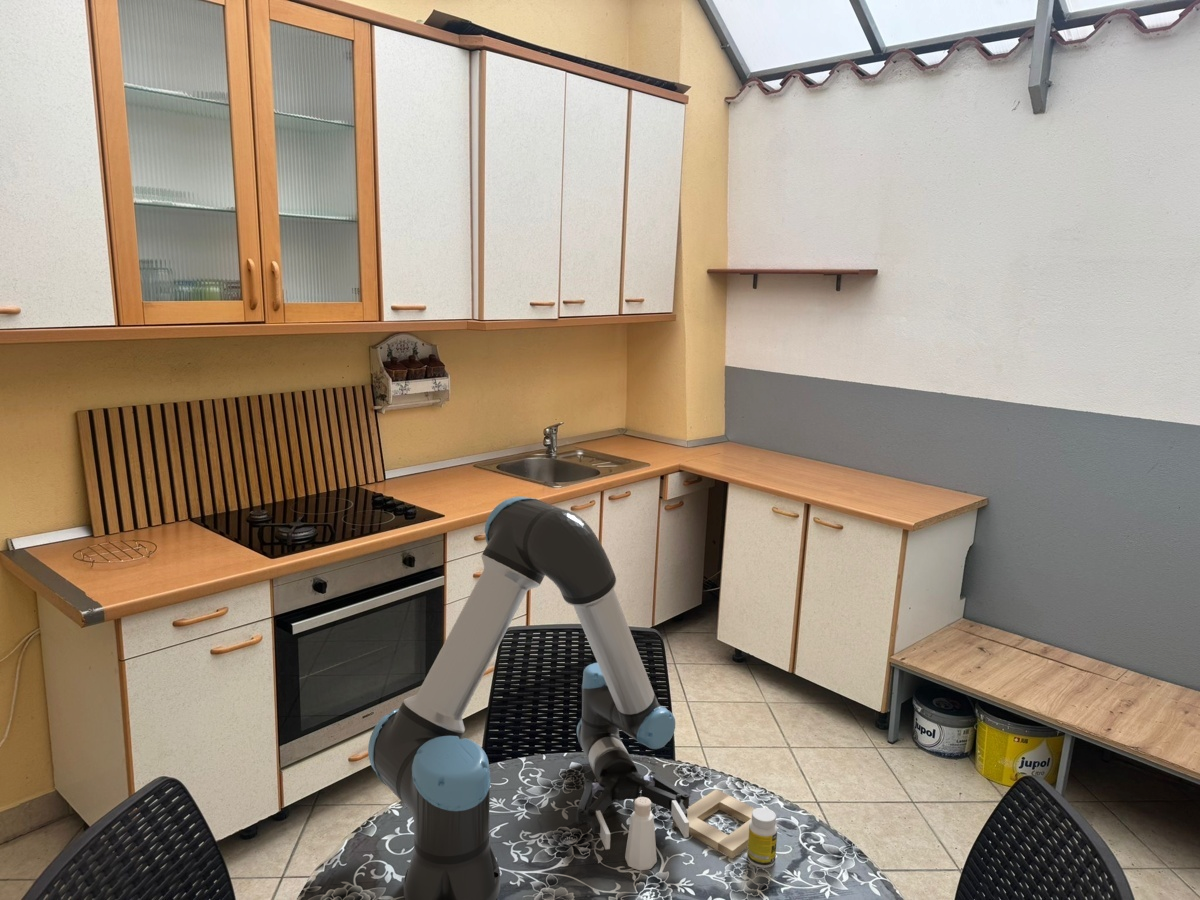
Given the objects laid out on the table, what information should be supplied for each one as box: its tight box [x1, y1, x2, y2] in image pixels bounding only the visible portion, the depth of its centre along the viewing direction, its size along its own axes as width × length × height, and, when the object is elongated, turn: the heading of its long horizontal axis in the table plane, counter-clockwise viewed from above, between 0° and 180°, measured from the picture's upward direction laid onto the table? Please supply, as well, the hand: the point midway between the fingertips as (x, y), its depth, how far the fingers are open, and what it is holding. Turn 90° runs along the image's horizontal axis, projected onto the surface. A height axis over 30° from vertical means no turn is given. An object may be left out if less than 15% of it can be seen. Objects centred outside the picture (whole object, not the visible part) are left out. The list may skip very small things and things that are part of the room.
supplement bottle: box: [746, 807, 778, 869], centre depth 140 cm, size 5×5×8 cm
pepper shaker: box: [624, 797, 658, 872], centre depth 139 cm, size 5×5×11 cm
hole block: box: [672, 788, 756, 860], centre depth 149 cm, size 13×13×2 cm
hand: (647, 835), depth 136 cm, fingers open, 13 cm apart
